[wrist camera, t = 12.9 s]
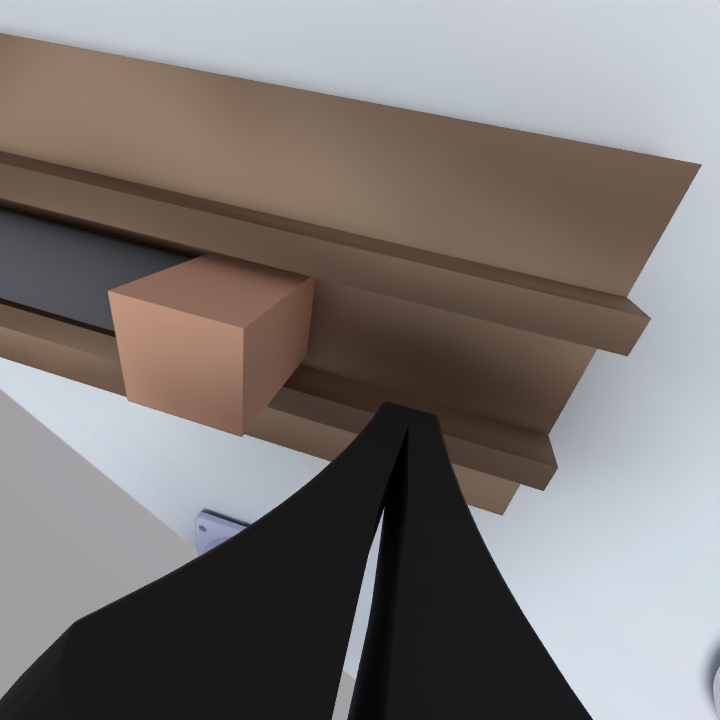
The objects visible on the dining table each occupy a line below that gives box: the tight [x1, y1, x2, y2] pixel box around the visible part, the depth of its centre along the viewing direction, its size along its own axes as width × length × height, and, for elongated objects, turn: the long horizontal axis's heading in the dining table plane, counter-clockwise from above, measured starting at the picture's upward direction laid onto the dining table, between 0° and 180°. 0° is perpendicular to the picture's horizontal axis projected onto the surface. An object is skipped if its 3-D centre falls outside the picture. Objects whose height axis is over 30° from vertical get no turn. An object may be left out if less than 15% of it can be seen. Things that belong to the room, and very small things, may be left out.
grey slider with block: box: [0, 209, 315, 437], centre depth 11 cm, size 3×16×4 cm, turn 80°
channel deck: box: [0, 33, 701, 515], centre depth 13 cm, size 12×24×4 cm, turn 80°
